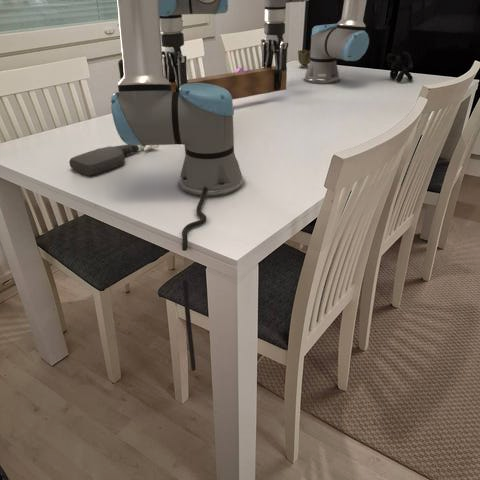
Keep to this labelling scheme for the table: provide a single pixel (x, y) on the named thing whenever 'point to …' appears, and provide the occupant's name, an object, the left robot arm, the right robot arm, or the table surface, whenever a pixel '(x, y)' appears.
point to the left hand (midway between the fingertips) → (178, 106)
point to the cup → (304, 58)
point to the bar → (243, 82)
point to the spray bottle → (104, 158)
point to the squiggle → (399, 66)
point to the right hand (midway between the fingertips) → (273, 88)
